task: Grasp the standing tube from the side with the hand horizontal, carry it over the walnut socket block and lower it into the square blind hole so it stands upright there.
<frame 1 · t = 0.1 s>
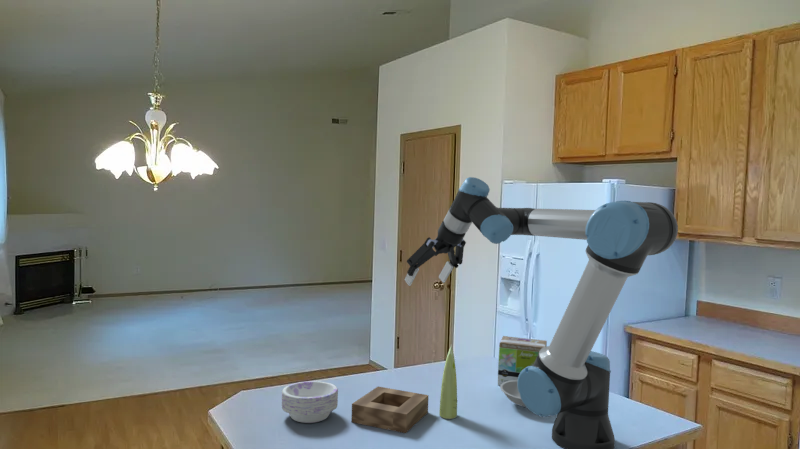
hand: (424, 281, 168), 36 cm above the countertop, tool tilted 35°, fingers open, 13 cm apart
dish: (525, 407, 164), on the countertop
paper bowls: (309, 417, 152), on the countertop
tea box: (521, 384, 184), on the countertop
tube: (447, 417, 155), on the countertop
socket block: (390, 417, 153), on the countertop
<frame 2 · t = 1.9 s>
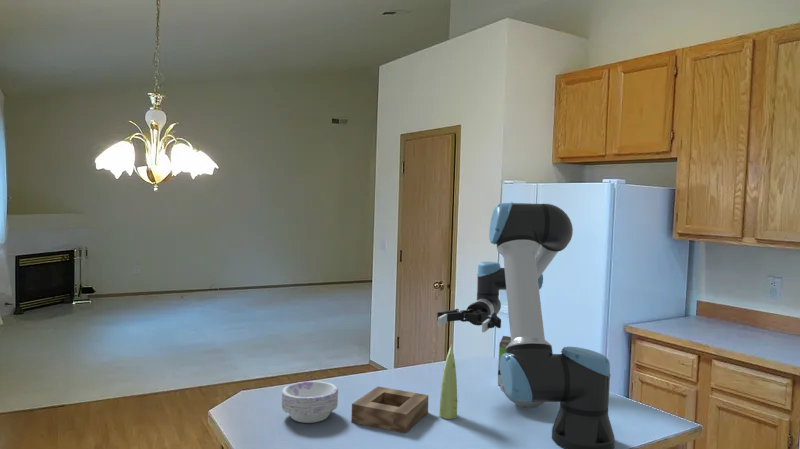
hand: (460, 325, 162), 24 cm above the countertop, tool horizontal, fingers open, 13 cm apart
nothing on the countertop moved.
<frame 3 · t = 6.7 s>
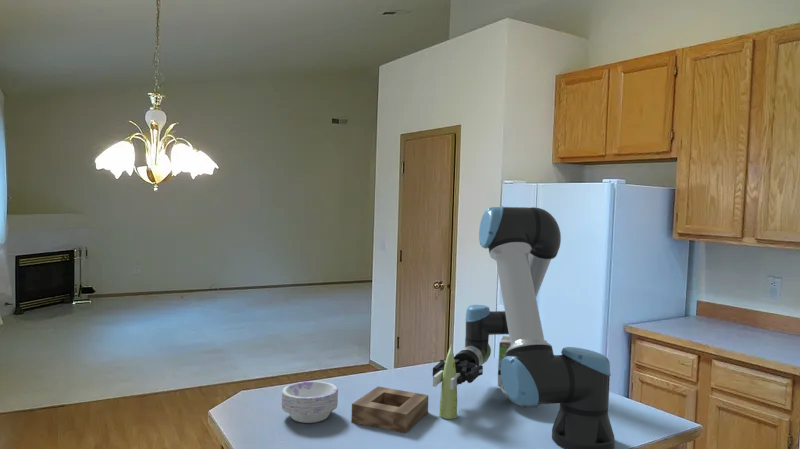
hand: (442, 382, 149), 11 cm above the countertop, tool horizontal, fingers closed on tube, 4 cm apart
tube: (448, 417, 155), on the countertop, touching gripper
everything else where it was.
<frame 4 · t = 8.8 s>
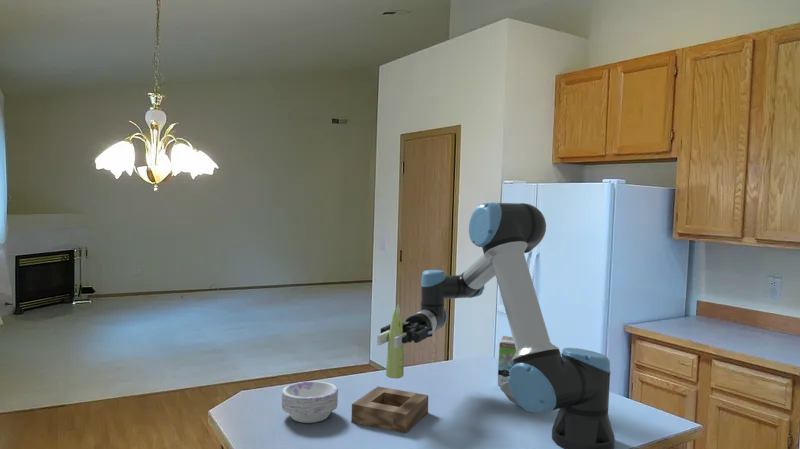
hand: (387, 341, 148), 22 cm above the countertop, tool horizontal, fingers closed on tube, 4 cm apart
tube: (394, 377, 153), point 11 cm above the countertop, touching gripper
everything else where it was.
when the fingers open (13 cm above the countertop, at t = 11.1 s): tube drops 1 cm, resting on socket block.
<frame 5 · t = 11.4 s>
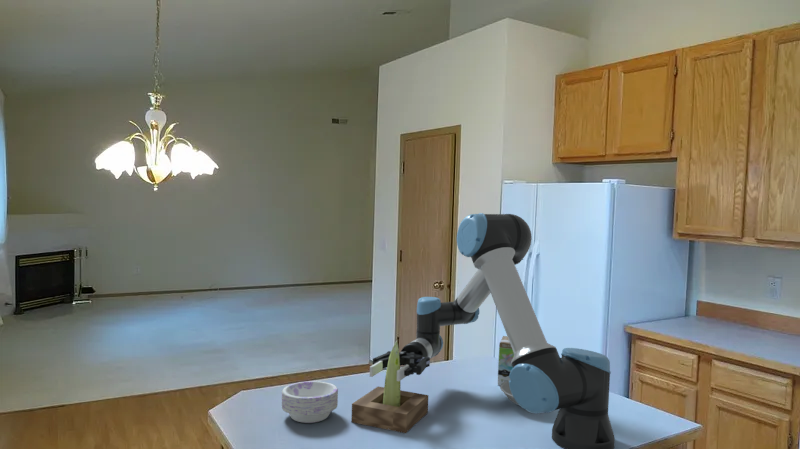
hand: (384, 373, 148), 13 cm above the countertop, tool horizontal, fingers open, 7 cm apart
tube: (390, 413, 153), point 1 cm above the countertop, touching socket block
everything else where it was.
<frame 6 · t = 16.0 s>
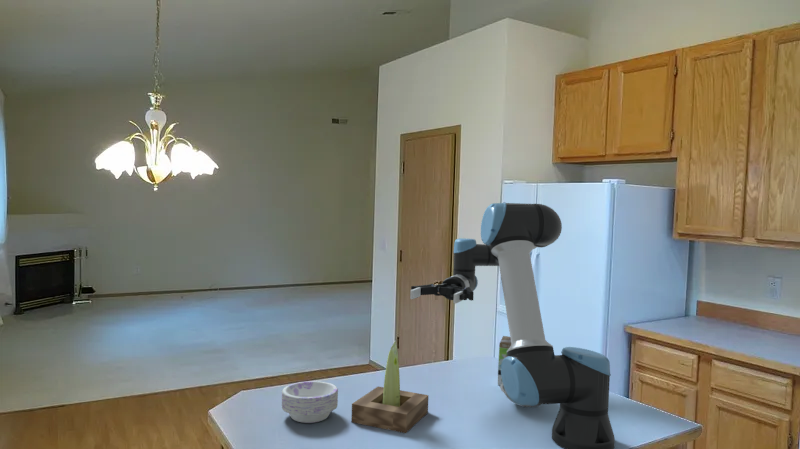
hand: (432, 296, 163), 32 cm above the countertop, tool horizontal, fingers open, 13 cm apart
nothing on the countertop moved.
at the end: tube inside the target area on the socket block (0.1 cm from its centre), point 0.9 cm above the socket block's base; tube tilted 0°; the gripper is holding nothing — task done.
